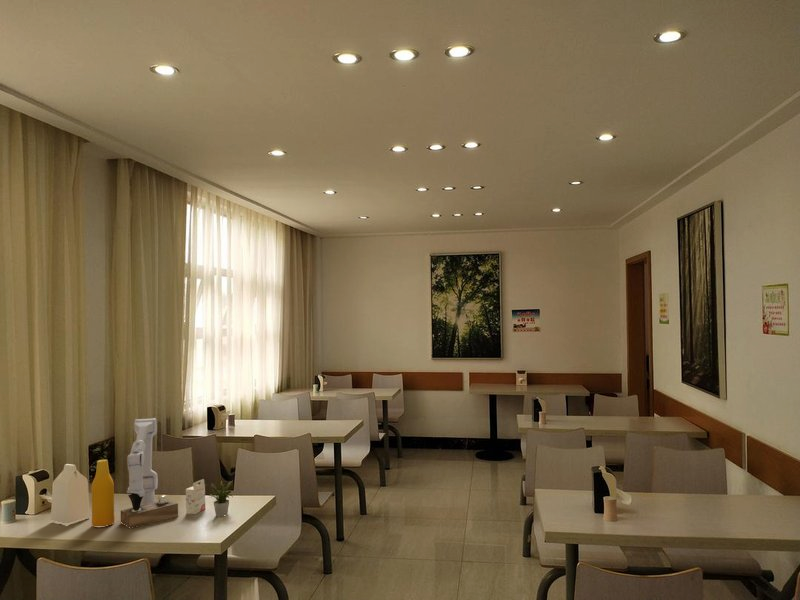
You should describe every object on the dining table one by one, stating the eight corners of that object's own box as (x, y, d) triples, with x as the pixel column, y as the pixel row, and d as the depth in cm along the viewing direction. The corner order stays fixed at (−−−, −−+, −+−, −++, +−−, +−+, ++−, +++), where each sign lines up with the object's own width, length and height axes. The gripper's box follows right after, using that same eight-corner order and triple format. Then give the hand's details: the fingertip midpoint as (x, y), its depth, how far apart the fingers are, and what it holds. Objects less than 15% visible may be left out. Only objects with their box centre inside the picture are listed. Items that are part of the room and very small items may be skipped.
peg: (156, 508, 282) (156, 496, 282) (164, 506, 285) (164, 494, 285) (160, 509, 279) (159, 497, 279) (168, 507, 282) (168, 495, 282)
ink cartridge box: (197, 508, 293) (196, 478, 294) (205, 509, 291) (205, 478, 292) (185, 513, 285) (185, 482, 285) (194, 514, 283) (193, 483, 284)
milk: (50, 523, 278) (50, 466, 279) (74, 515, 288) (73, 461, 289) (66, 526, 272) (66, 468, 273) (90, 518, 282) (89, 463, 284)
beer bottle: (117, 524, 272) (116, 460, 273) (95, 529, 266) (94, 463, 267) (110, 520, 279) (109, 457, 280) (89, 525, 273) (88, 460, 274)
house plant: (202, 522, 272) (201, 485, 272) (203, 513, 285) (202, 478, 286) (235, 518, 276) (234, 482, 276) (234, 509, 289) (233, 475, 290)
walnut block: (120, 523, 274) (120, 510, 274) (168, 511, 289) (167, 499, 289) (130, 528, 266) (129, 514, 266) (178, 516, 281) (177, 503, 282)
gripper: (120, 479, 276) (121, 508, 276) (133, 484, 266) (133, 515, 265) (136, 475, 281) (136, 505, 281) (149, 480, 271) (149, 511, 270)
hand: (136, 509), depth 273 cm, fingers closed, pressing on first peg
